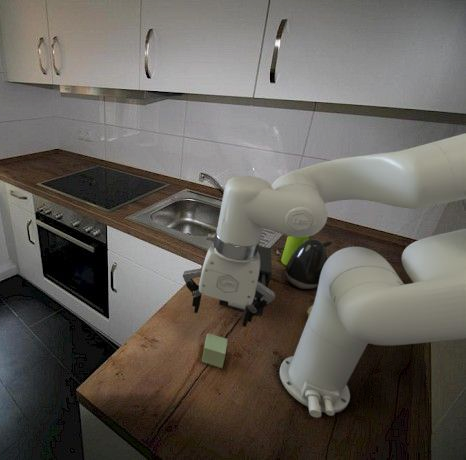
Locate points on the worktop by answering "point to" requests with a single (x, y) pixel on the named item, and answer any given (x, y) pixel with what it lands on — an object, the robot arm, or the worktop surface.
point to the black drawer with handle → (257, 295)
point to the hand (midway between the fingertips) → (220, 315)
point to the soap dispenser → (291, 247)
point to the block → (214, 350)
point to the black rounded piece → (307, 264)
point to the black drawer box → (265, 262)
